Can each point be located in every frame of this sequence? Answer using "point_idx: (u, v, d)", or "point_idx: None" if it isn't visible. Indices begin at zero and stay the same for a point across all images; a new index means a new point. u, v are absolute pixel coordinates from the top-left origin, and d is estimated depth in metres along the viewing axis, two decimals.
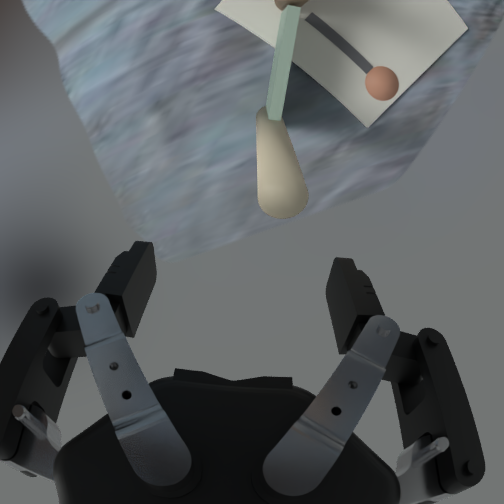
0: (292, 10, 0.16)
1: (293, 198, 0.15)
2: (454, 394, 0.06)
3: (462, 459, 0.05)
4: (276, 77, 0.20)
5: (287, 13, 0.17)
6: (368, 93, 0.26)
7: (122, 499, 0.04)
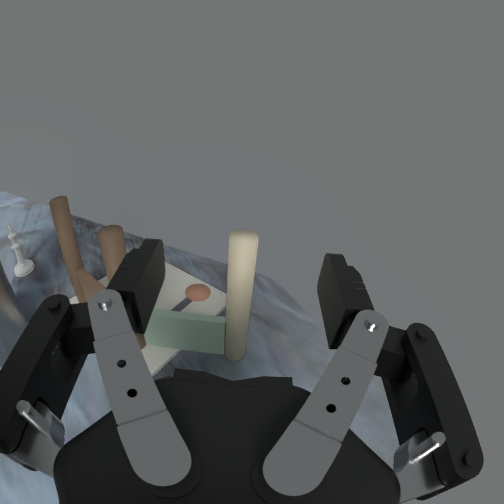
0: None
1: (244, 233, 0.27)
2: (447, 388, 0.07)
3: (460, 452, 0.05)
4: (192, 319, 0.32)
5: None
6: (206, 298, 0.44)
7: (120, 501, 0.04)
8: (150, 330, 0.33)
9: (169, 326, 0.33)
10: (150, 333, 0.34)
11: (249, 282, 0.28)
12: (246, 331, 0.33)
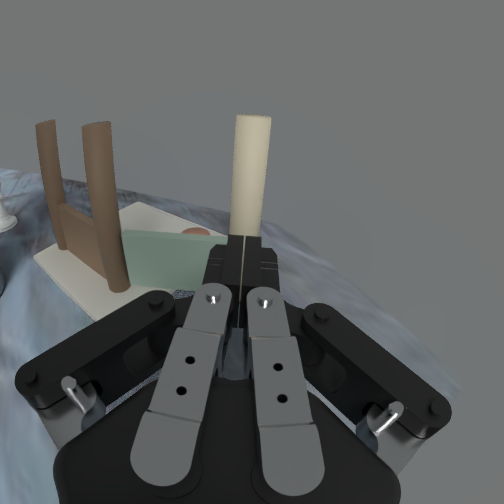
0: (126, 232, 0.26)
1: (253, 115, 0.21)
2: (376, 357, 0.08)
3: (424, 409, 0.06)
4: (187, 239, 0.26)
5: (128, 235, 0.26)
6: None
7: None
8: (135, 261, 0.27)
9: (158, 252, 0.27)
10: (135, 266, 0.28)
11: (260, 175, 0.22)
12: None
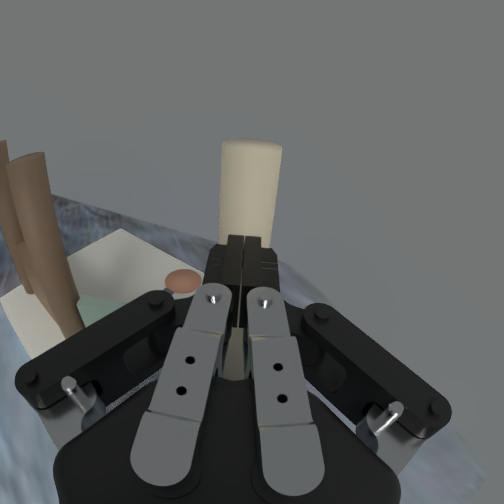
0: (83, 301, 0.18)
1: (252, 142, 0.13)
2: (376, 357, 0.08)
3: (424, 409, 0.06)
4: None
5: (85, 305, 0.18)
6: (195, 290, 0.30)
7: None
8: None
9: None
10: None
11: (262, 243, 0.14)
12: None
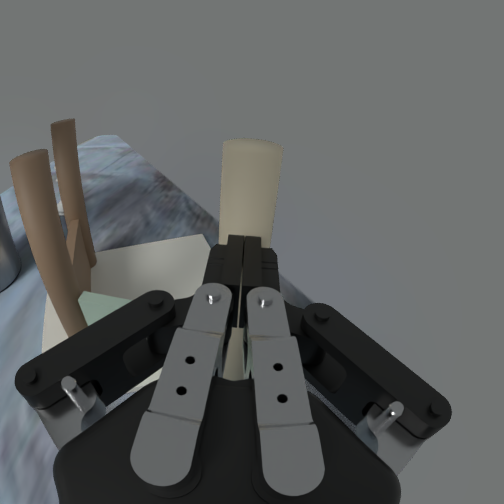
0: (84, 297, 0.18)
1: (253, 142, 0.13)
2: (376, 357, 0.08)
3: (424, 409, 0.06)
4: None
5: (86, 301, 0.18)
6: None
7: None
8: None
9: None
10: None
11: (262, 243, 0.14)
12: None
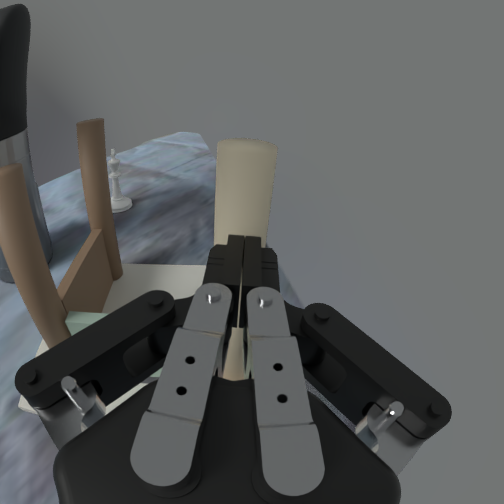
0: (71, 317, 0.17)
1: (245, 141, 0.13)
2: (376, 357, 0.08)
3: (424, 409, 0.06)
4: None
5: (74, 321, 0.17)
6: None
7: None
8: None
9: None
10: None
11: (261, 241, 0.14)
12: None
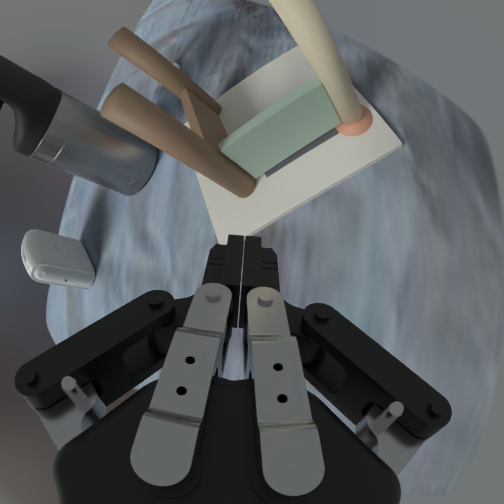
0: (223, 145, 0.24)
1: None
2: (376, 357, 0.08)
3: (424, 409, 0.06)
4: (283, 106, 0.22)
5: (228, 145, 0.24)
6: (361, 134, 0.25)
7: None
8: (249, 159, 0.26)
9: (265, 136, 0.24)
10: (251, 162, 0.26)
11: (317, 12, 0.14)
12: (349, 77, 0.20)
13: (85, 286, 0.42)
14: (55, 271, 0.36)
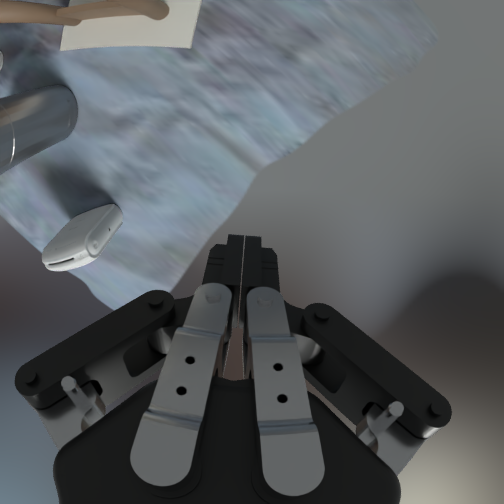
0: None
1: None
2: (376, 357, 0.08)
3: (424, 409, 0.06)
4: None
5: None
6: None
7: None
8: None
9: None
10: None
11: None
12: None
13: (120, 220, 0.42)
14: (98, 230, 0.36)
